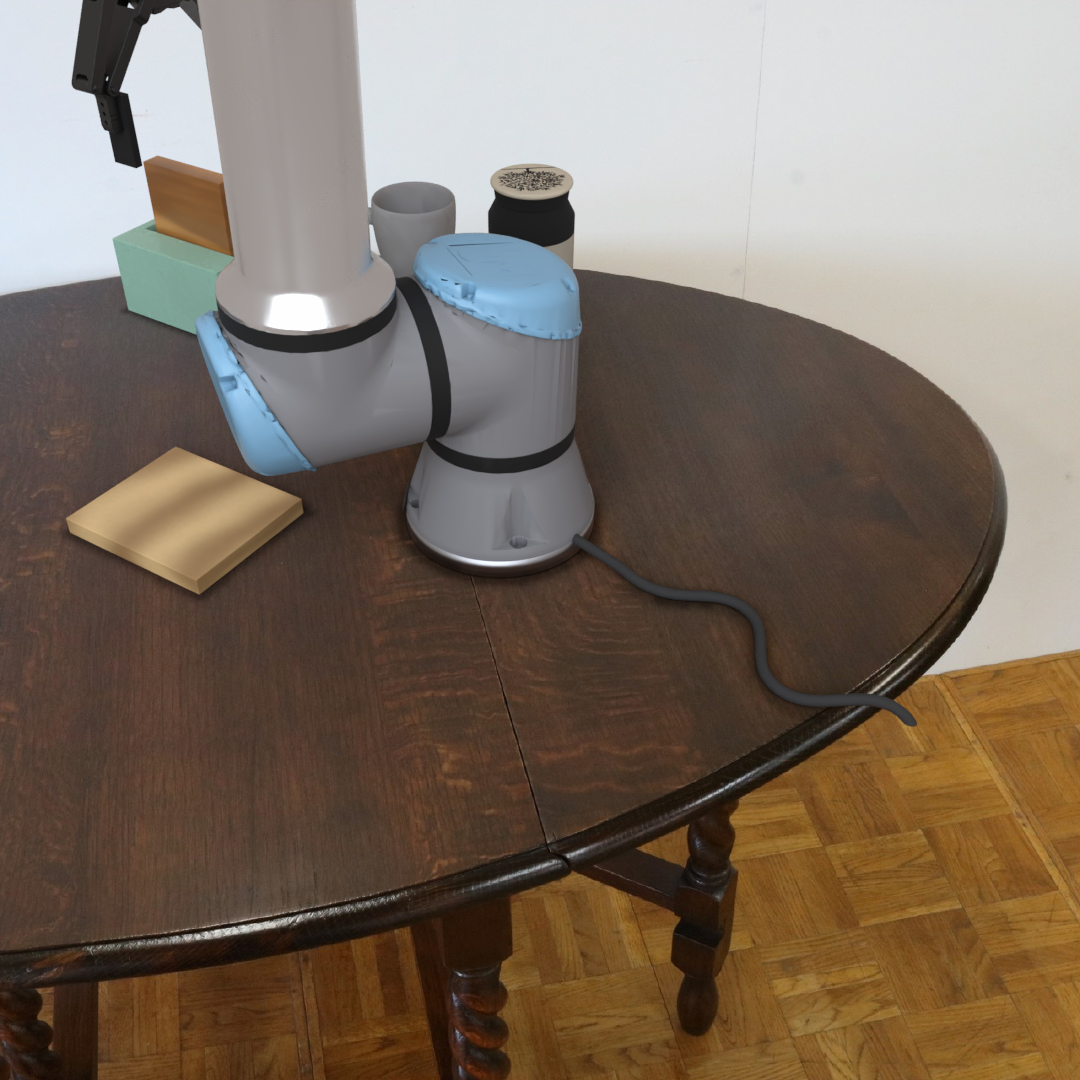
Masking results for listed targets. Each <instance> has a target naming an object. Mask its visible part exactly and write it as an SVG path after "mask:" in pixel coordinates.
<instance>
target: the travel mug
mask: <svg viewBox="0 0 1080 1080" xmlns="http://www.w3.org/2000/svg"><path fill="white" fill-rule="evenodd" d="M489 183H490V186H491V188H492V189H493V193H494V199H493V201H492V203H491V205H490V206H489V209H488V211H487V228H488V229H487V233H490V234H498V235H505V236H510V237H514V238H518V239H521V240H525V241H528V242H531V243H534V244H537V245H539V246H541V247H544V248H546V249H548V250H549V251H551V252H553V253H554V254H556V255H557V256H559V257H560V258H561V259H563V260H564V261H565V262H566V263H567V264H568V265H569V267H570V268H571V269H572V271H573V272H574V256H575V255H574V253H575V252H574V251H575V224H576V212H575V209H574V208H573V205H572V204H571V202H570V200H569V196H570V191H571V189H572V188H573V186H574V178H573V176H572V175H571V174H570V173H569V172H568V171H566V170H564V169H562V168H560V167H557V166H554V165H549V164H543V163H520V164H512V165H508V166H505V167H502V168H500V169H497V170H496V171H495V172H494V173H493V174H492V175H491V176H490V179H489Z"/></svg>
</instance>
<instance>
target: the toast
mask: <svg viewBox="0 0 1080 1080" xmlns="http://www.w3.org/2000/svg"><path fill="white" fill-rule="evenodd" d="M142 165H143V169H144V174H145V179H146V183H147V188H148V195H149V198H150V203H151V204H150V205H151V210H152V213H153V219H155V224H156V229H157V233H161V234H164V235H167V236H170V237H173V238H176V239H179V240H182V241H185V242H189V243H192V244H195V245H198V246H201V247H204V248H207V249H210V250H213V251H217V252H220V253H223V254H226V255H229V256H232V257H234V250H233V244H232V237H231V230H230V223H229V216H228V209H227V202H226V195H225V189H224V182H223V175H222V172H221V173H220V172H217V171H213V170H210V169H207V168H203V167H199V166H197V165H192V164H189V163H186V162H182V161H178V160H175V159H171V158H168V157H165V156H161V155H155V156H153V157H151V158H148V159H145V160H144V161H142Z"/></svg>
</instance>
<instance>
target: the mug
mask: <svg viewBox="0 0 1080 1080" xmlns="http://www.w3.org/2000/svg"><path fill="white" fill-rule="evenodd" d="M456 202H457V201H456V196H455V194H454V192H452V190H451V189H449V188H448V187H446V186H443V185H441V184H438V183H435V182H434V183H433V182H427V181H403V182H401V181H400V182H396V183H391V184H388V185H385V186H383V187H381V188H378V189H377V190H376V191H375V192H374V193H373V195H372V196H371V199H370V206H368V213H369V226H372V228H373V232H374V237H375V242H376V246H377V250H378V252H379V254H377V255H378V256H380V257H381V258H382V259H384V260H385V261H386V262H387V263H388V264H389V265H390V267H391V268H392V270H393V273H394V276H395V278H400V277H405V276H410V275H413V274H414V273H413V267H412V264H413V261H414V260H415V257H416V254H417V252H418V250H419V248H420V247H421V246H423V245H424V244H428V242H429V241H431V240H432V239H434V238H437V237H440V236H444V235H448V234H456V227H457V225H456V224H457V203H456Z"/></svg>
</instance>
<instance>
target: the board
mask: <svg viewBox="0 0 1080 1080" xmlns="http://www.w3.org/2000/svg"><path fill="white" fill-rule="evenodd" d="M303 514H304V507H303V500H302V498H300V497H298V496H296V495H294V494H291V493H288V492H287V491H284V490H282V489H279V488H276V487H274V486H272V485H269V484H267V483H265V482H262V481H259V480H257V479H255V478H253V477H250V476H248V475H245V474H243V473H240V472H238V471H235V470H233V469H232V468H228V467H226V466H224V465H221V464H220V463H216V462H214V461H211V460H209V459H207V458H204V457H202V456H199V455H197V454H195V453H193V452H190V451H189V450H186V449H183V448H181V447H178V446H174V447H173V448H171V449H170V450H168V451H166V452H165V453H163V454H161V455H160V456H159V457H157V458H156V459H154V460H152V461H151V462H150V463H148V464H147V465H145V466H143V467H142V468H140V469H138V470H137V471H136V472H134V473H133V474H131V475H129V476H128V477H127V478H125V479H124V480H122V481H120V482H119V483H117V484H116V485H114V486H113V487H111V488H109V490H107V491H105V492H104V493H103V494H101V495H99V496H97V497H96V498H94V499H93V500H91V501H90V502H88V503H87V504H85V505H84V506H82V507H81V508H79V509H78V510H76V511H75V512H73V513H72V514H70V515H69V516H67V517H66V518H65V521H66V524H67V527H68V530H69V533H70V534H71V535H74V536H75V537H78V538H80V539H82V540H84V541H87V542H88V543H90V544H93V545H94V546H97V547H99V548H100V549H103V550H105V551H107V552H109V553H112V554H114V555H116V556H118V557H119V558H121V559H124V560H126V561H128V562H130V563H132V564H134V565H136V566H139V567H140V568H142V569H144V570H147V571H149V572H151V573H152V574H155V575H157V576H159V577H161V578H163V579H165V580H167V581H169V582H172V583H174V584H176V585H178V586H180V587H182V588H184V589H186V590H189V591H190V592H193V593H194V594H196V595H199V596H200V595H201V594H202V593H204V592H205V591H206V590H207V589H209V588H210V587H212V586H213V585H214V584H215V583H216V582H218V581H219V580H220V579H222V578H223V577H224V576H225V575H226V574H228V573H229V572H230V571H232V570H233V569H234V568H236V567H237V566H238V565H239V564H240V563H242V562H243V561H244V560H246V559H247V558H248V557H249V556H251V555H252V554H253V553H255V552H256V551H257V550H258V549H260V548H261V547H262V546H264V545H265V544H266V543H267V542H269V541H270V540H271V539H273V538H274V537H275V536H277V534H279V533H280V532H282V531H283V530H284V529H286V528H287V527H288V526H289V525H290V524H291V523H293V522H295V520H297V519H298V518H299V517H301V516H302V515H303Z"/></svg>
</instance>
